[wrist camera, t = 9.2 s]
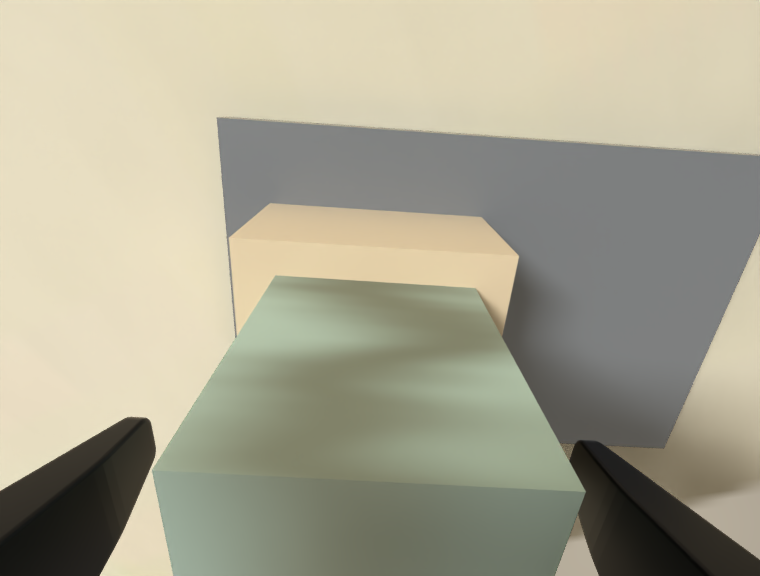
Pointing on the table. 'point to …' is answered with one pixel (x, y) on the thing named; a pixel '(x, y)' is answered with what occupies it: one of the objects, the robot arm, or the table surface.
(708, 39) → the table surface
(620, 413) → the build plate
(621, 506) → the robot arm
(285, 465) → the sage block
